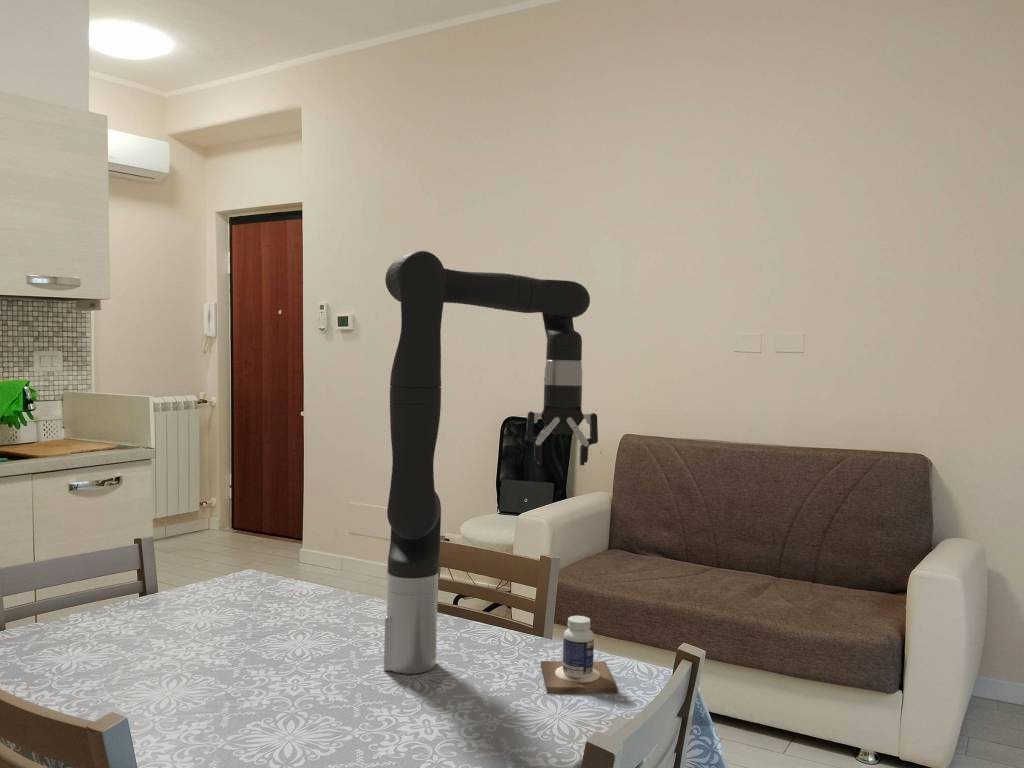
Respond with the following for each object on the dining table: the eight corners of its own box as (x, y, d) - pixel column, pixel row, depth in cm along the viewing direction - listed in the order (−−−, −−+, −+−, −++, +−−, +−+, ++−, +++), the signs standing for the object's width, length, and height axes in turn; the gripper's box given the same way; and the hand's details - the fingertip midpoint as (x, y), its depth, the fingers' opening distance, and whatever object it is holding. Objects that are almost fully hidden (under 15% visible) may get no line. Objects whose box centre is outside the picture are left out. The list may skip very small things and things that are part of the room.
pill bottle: (591, 680, 139) (592, 625, 139) (560, 677, 140) (562, 622, 140) (594, 669, 144) (595, 615, 144) (564, 666, 145) (566, 613, 145)
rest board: (546, 692, 136) (547, 686, 136) (540, 666, 148) (540, 660, 148) (616, 693, 137) (617, 686, 137) (605, 666, 149) (605, 661, 149)
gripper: (528, 382, 155) (526, 466, 155) (601, 384, 156) (599, 467, 156) (526, 381, 162) (523, 461, 163) (595, 383, 163) (593, 463, 163)
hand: (560, 464), depth 159 cm, fingers open, 8 cm apart
